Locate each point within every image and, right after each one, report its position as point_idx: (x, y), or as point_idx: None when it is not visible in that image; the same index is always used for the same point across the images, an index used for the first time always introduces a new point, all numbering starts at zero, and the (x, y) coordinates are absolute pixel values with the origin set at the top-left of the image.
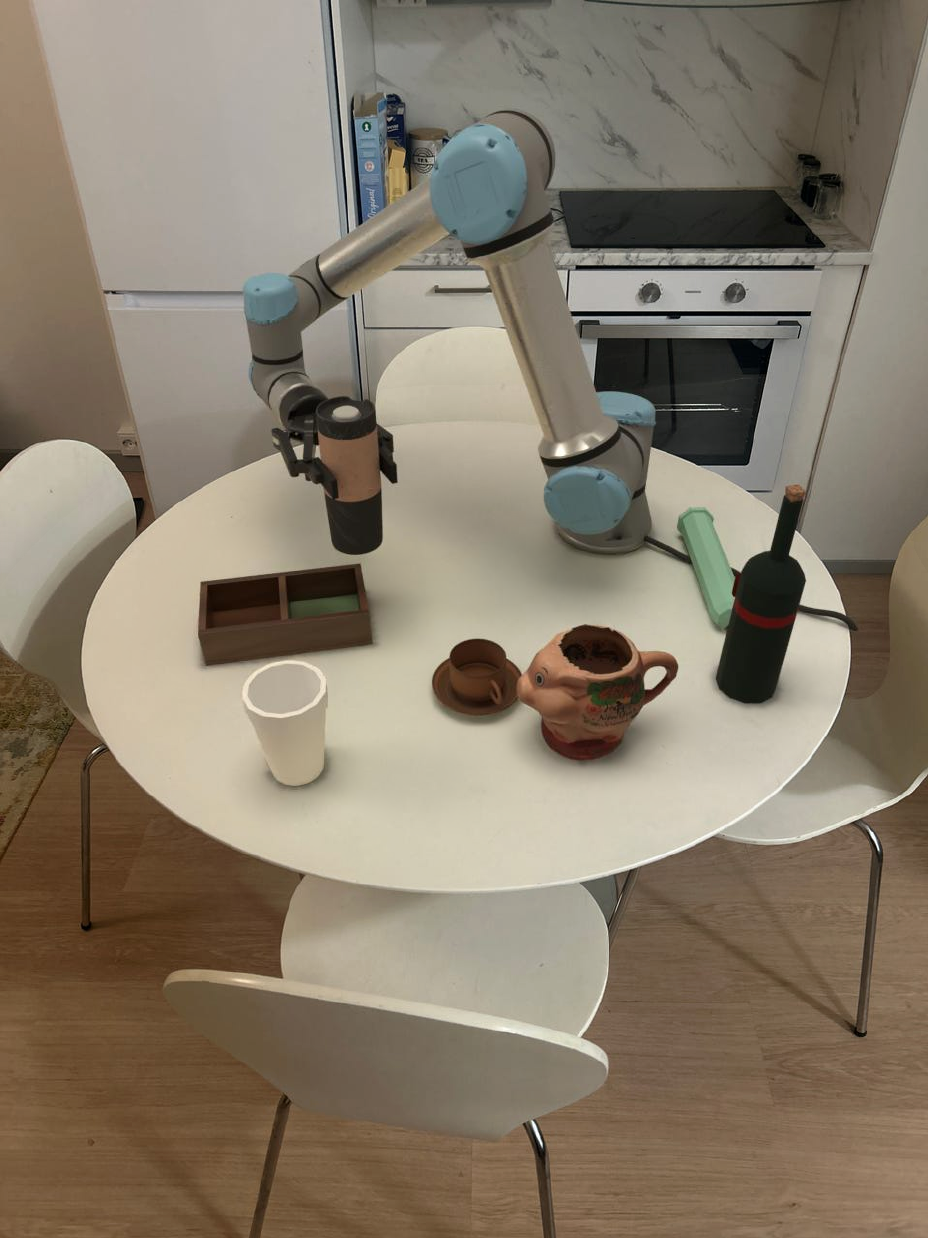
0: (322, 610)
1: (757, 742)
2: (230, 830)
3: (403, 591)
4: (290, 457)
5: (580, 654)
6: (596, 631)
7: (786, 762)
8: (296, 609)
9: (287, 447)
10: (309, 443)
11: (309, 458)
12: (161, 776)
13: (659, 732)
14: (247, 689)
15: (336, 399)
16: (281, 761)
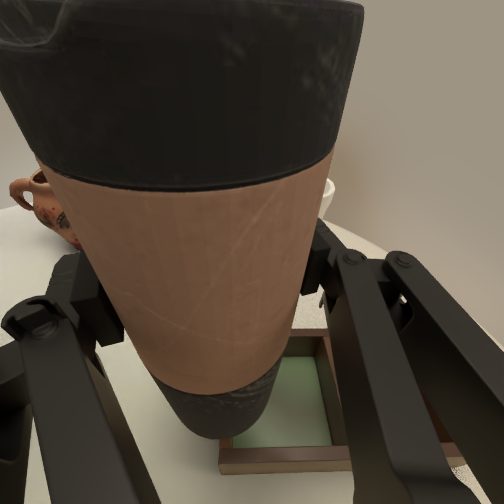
0: (284, 421)
1: (7, 219)
2: (323, 221)
3: (158, 467)
4: (414, 268)
5: (62, 225)
6: (43, 193)
7: (9, 209)
8: (321, 432)
9: (471, 339)
10: (379, 357)
11: (343, 254)
12: (378, 252)
13: (55, 232)
14: (330, 185)
15: (213, 22)
16: None
